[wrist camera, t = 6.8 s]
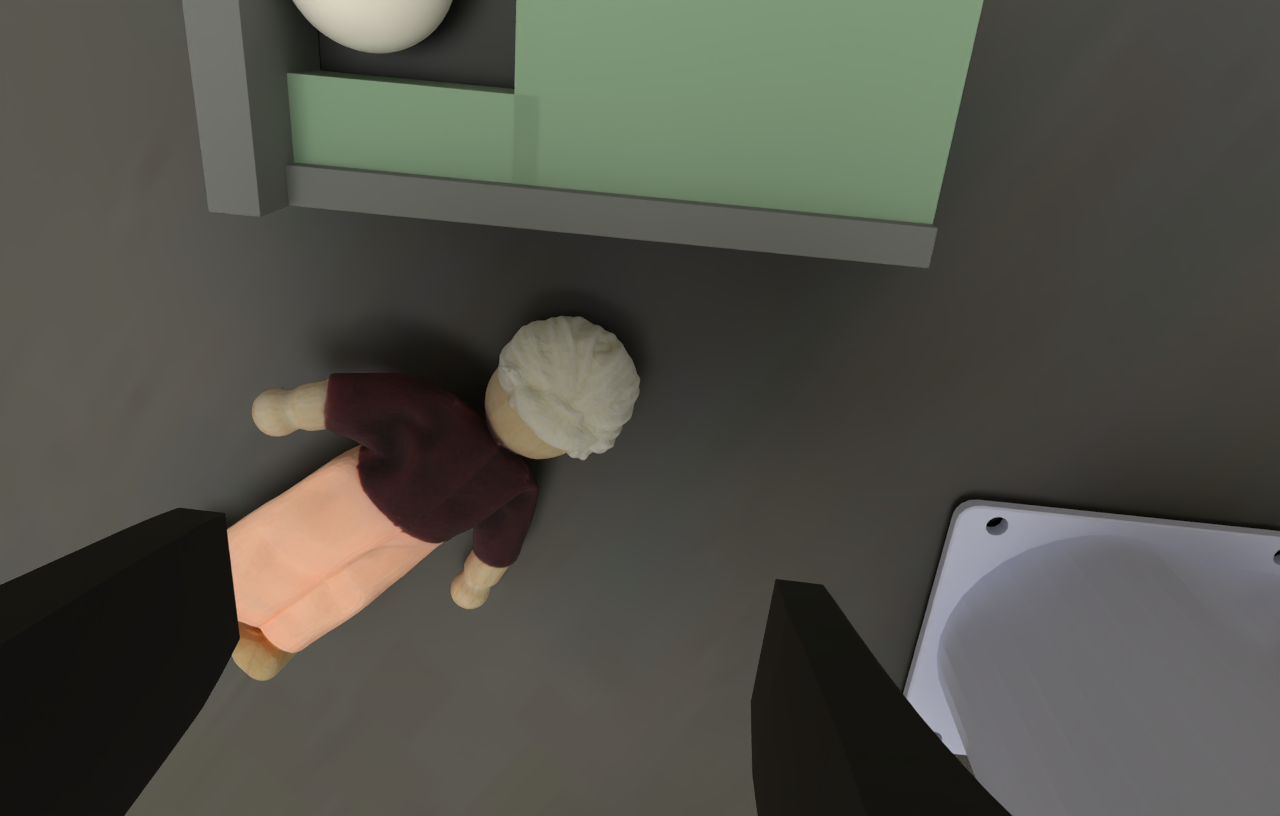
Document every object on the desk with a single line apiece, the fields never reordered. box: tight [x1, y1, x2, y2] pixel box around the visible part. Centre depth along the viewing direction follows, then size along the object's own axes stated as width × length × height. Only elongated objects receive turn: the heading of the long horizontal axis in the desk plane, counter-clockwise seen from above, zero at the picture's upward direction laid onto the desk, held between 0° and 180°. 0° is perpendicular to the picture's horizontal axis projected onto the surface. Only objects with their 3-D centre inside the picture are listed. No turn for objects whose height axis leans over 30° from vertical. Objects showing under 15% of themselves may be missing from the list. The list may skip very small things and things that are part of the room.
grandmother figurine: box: [227, 316, 640, 680], centre depth 20 cm, size 8×4×13 cm
